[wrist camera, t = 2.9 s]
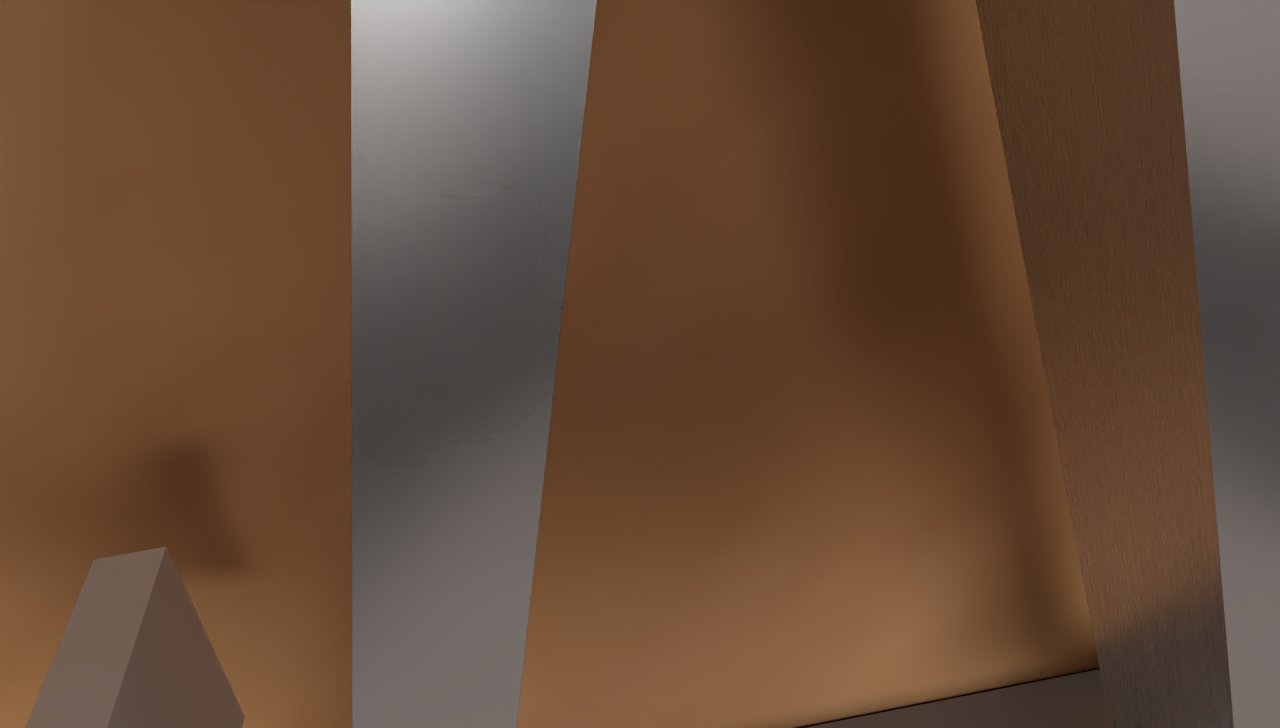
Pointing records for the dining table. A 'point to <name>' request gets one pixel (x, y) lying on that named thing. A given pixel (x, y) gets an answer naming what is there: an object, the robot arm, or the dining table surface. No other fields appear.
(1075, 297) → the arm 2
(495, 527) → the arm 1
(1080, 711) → the stand
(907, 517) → the dining table surface
